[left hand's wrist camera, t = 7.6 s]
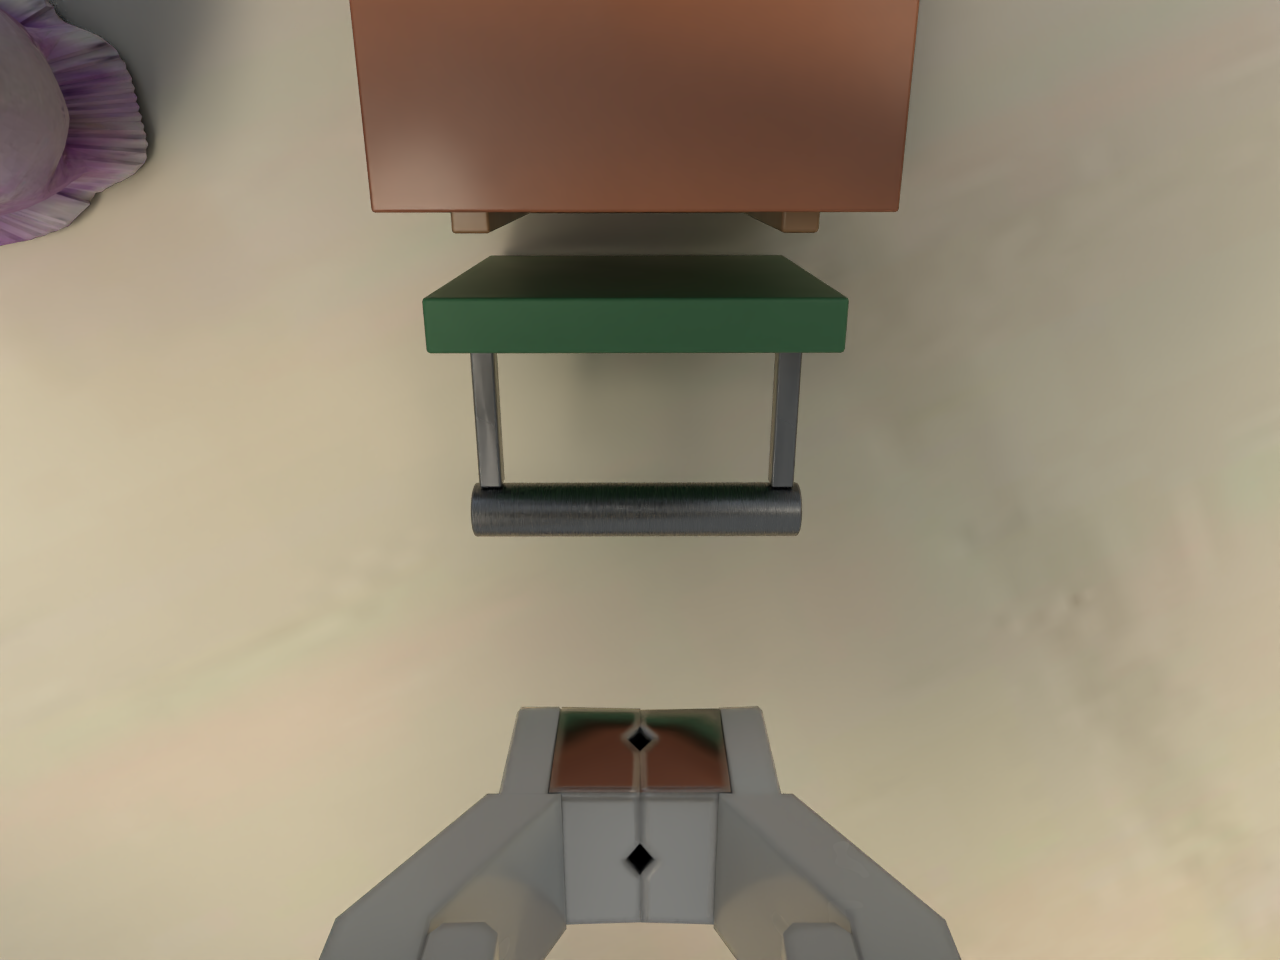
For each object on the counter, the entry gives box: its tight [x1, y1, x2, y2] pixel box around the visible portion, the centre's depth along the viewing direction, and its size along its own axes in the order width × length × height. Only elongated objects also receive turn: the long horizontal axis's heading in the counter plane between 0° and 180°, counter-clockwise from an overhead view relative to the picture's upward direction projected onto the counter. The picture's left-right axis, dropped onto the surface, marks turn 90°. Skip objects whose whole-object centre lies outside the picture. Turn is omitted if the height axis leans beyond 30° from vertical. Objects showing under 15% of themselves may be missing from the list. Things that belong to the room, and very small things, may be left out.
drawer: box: [422, 212, 849, 536], centre depth 21 cm, size 18×9×9 cm, turn 0°
